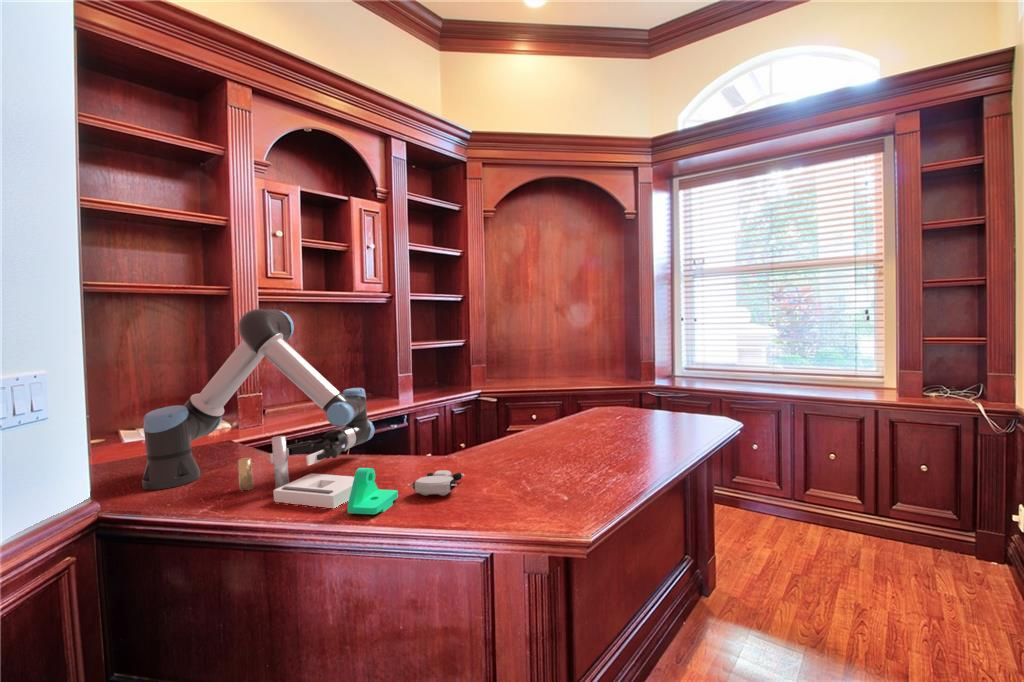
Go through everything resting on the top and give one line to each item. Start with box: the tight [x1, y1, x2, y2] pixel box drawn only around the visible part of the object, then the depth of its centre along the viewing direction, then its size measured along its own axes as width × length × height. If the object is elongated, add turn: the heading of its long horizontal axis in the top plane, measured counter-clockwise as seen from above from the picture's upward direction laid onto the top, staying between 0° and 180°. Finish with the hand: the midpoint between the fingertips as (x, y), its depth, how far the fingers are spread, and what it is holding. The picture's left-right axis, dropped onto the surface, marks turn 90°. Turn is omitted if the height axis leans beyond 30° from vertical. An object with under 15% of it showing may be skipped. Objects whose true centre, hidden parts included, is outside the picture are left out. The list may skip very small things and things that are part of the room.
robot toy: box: [407, 469, 465, 497], centre depth 134 cm, size 12×4×15 cm
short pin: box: [236, 456, 255, 491], centre depth 144 cm, size 4×4×9 cm
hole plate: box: [272, 472, 354, 510], centre depth 134 cm, size 20×14×4 cm
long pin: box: [271, 435, 290, 489], centre depth 139 cm, size 4×4×16 cm
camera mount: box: [346, 467, 399, 515], centre depth 124 cm, size 12×8×10 cm, turn 165°
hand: (288, 459), depth 141 cm, fingers open, 13 cm apart
